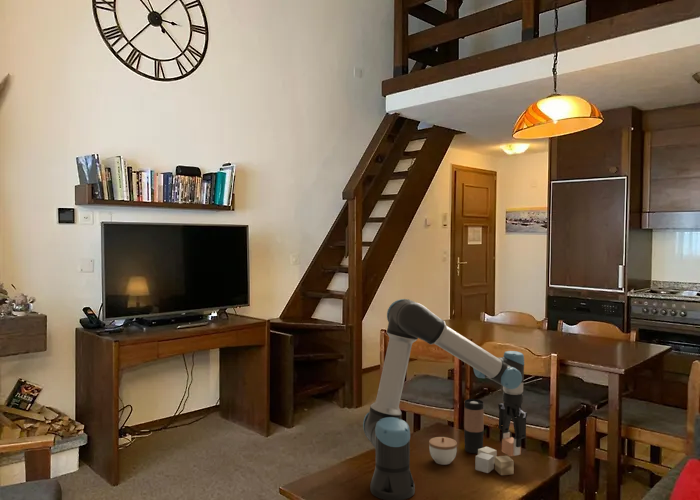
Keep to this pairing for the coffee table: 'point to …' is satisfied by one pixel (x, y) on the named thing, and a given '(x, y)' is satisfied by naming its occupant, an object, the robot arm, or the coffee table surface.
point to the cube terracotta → (508, 446)
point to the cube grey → (484, 462)
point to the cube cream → (488, 451)
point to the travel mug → (473, 425)
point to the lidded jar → (443, 449)
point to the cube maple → (504, 465)
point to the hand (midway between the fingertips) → (511, 451)
